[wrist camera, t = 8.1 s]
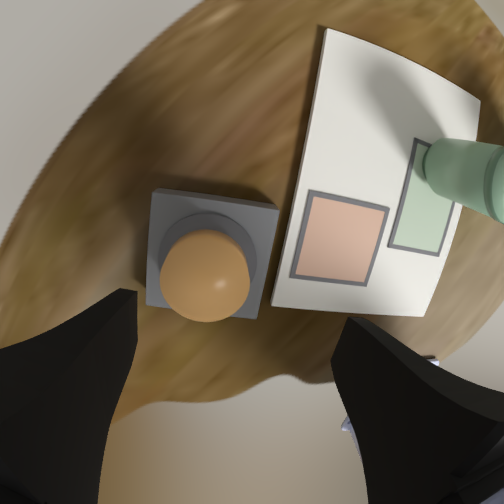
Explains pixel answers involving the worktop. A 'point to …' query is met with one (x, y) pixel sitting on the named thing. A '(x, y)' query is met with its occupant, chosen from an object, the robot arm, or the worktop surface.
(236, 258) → the button
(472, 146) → the green cylinder
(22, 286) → the worktop surface
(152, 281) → the button pad
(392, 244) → the picture card
